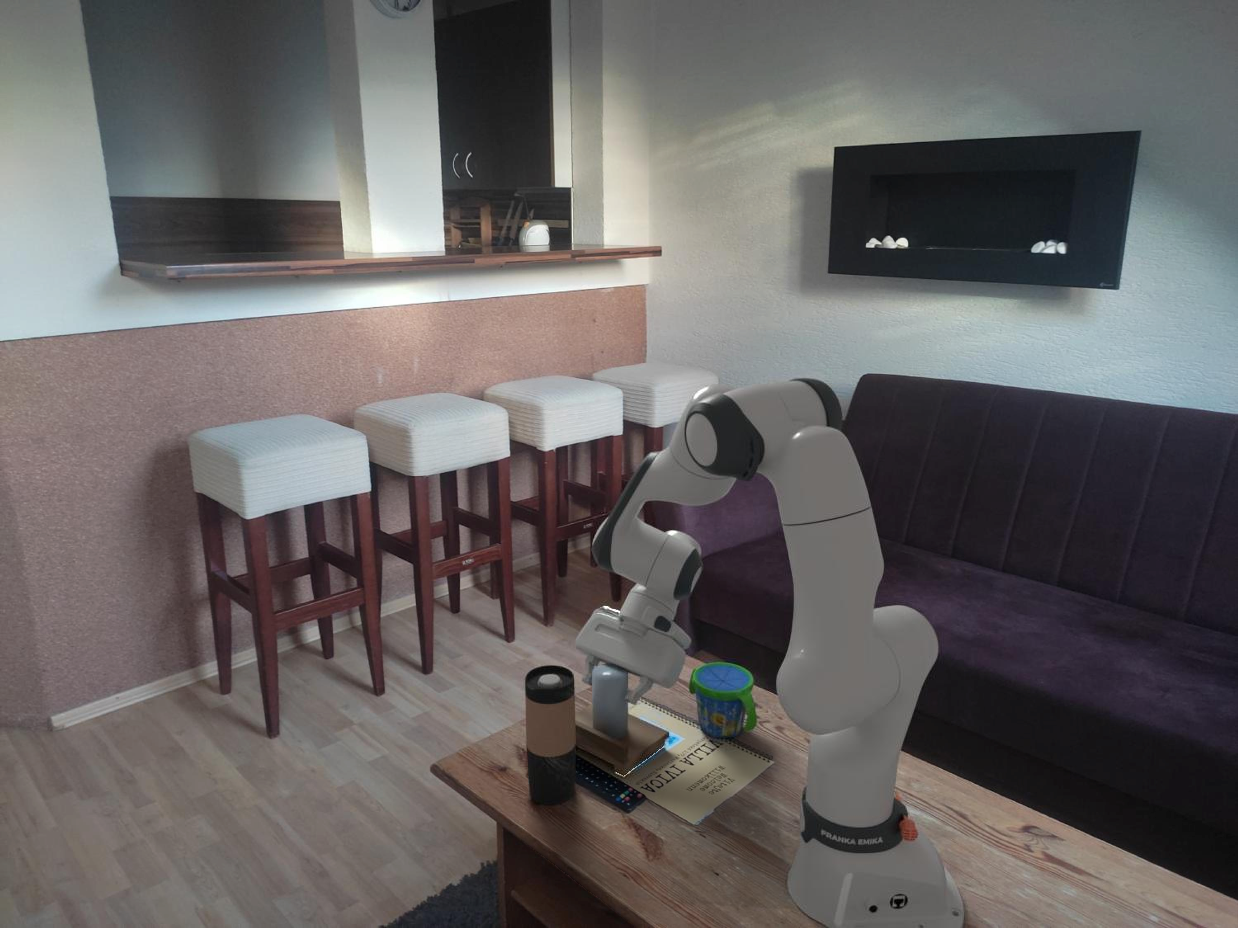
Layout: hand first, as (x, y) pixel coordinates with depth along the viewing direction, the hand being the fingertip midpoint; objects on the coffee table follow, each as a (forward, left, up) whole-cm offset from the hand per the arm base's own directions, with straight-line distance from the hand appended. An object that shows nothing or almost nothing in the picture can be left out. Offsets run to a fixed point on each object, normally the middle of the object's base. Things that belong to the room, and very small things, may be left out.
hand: (607, 692), depth 149 cm
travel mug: (+8, +12, -11) cm, 18 cm away
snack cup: (-19, -8, -11) cm, 23 cm away
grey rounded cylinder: (0, -1, -7) cm, 7 cm away
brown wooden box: (0, -1, -10) cm, 10 cm away
